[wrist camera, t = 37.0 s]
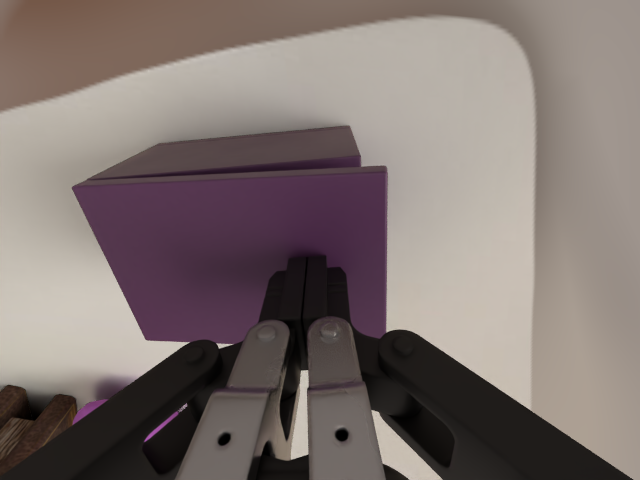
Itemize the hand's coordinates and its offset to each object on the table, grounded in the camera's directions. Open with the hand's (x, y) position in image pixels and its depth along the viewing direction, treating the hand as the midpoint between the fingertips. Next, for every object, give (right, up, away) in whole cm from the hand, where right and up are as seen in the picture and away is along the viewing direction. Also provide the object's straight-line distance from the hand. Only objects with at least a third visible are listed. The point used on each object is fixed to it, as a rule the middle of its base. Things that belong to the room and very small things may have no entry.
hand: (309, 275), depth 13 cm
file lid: (-3, 0, +1) cm, 3 cm away
